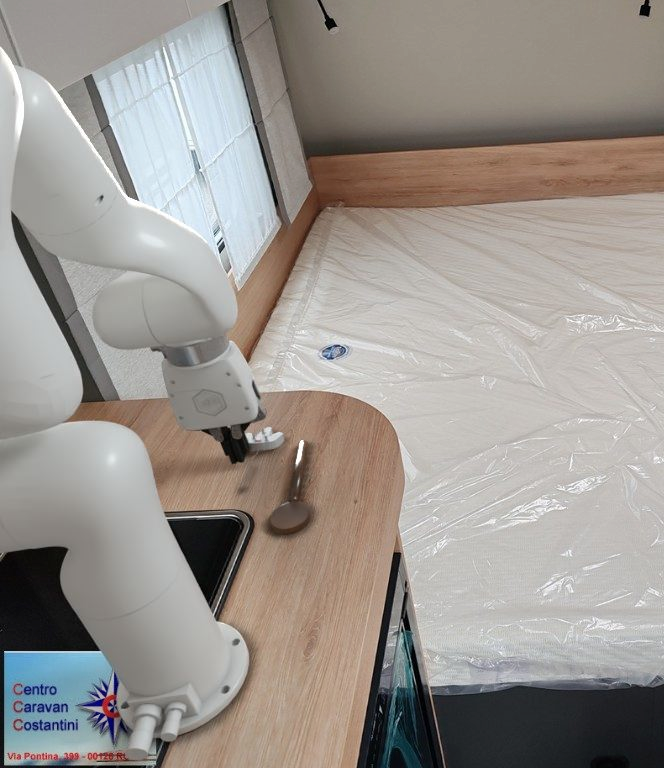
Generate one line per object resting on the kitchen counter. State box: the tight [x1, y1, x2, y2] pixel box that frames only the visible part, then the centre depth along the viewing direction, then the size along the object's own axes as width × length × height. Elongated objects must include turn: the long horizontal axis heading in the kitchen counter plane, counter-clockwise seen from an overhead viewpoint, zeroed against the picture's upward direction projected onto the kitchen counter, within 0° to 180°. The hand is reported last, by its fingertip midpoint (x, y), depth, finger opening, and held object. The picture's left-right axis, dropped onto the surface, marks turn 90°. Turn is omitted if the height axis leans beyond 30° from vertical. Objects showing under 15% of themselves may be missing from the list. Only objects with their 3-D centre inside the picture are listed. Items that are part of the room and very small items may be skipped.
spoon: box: [270, 439, 312, 535], centre depth 98 cm, size 17×5×1 cm, turn 7°
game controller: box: [241, 426, 285, 491], centre depth 103 cm, size 6×12×3 cm, turn 15°
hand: (239, 456), depth 103 cm, fingers closed
